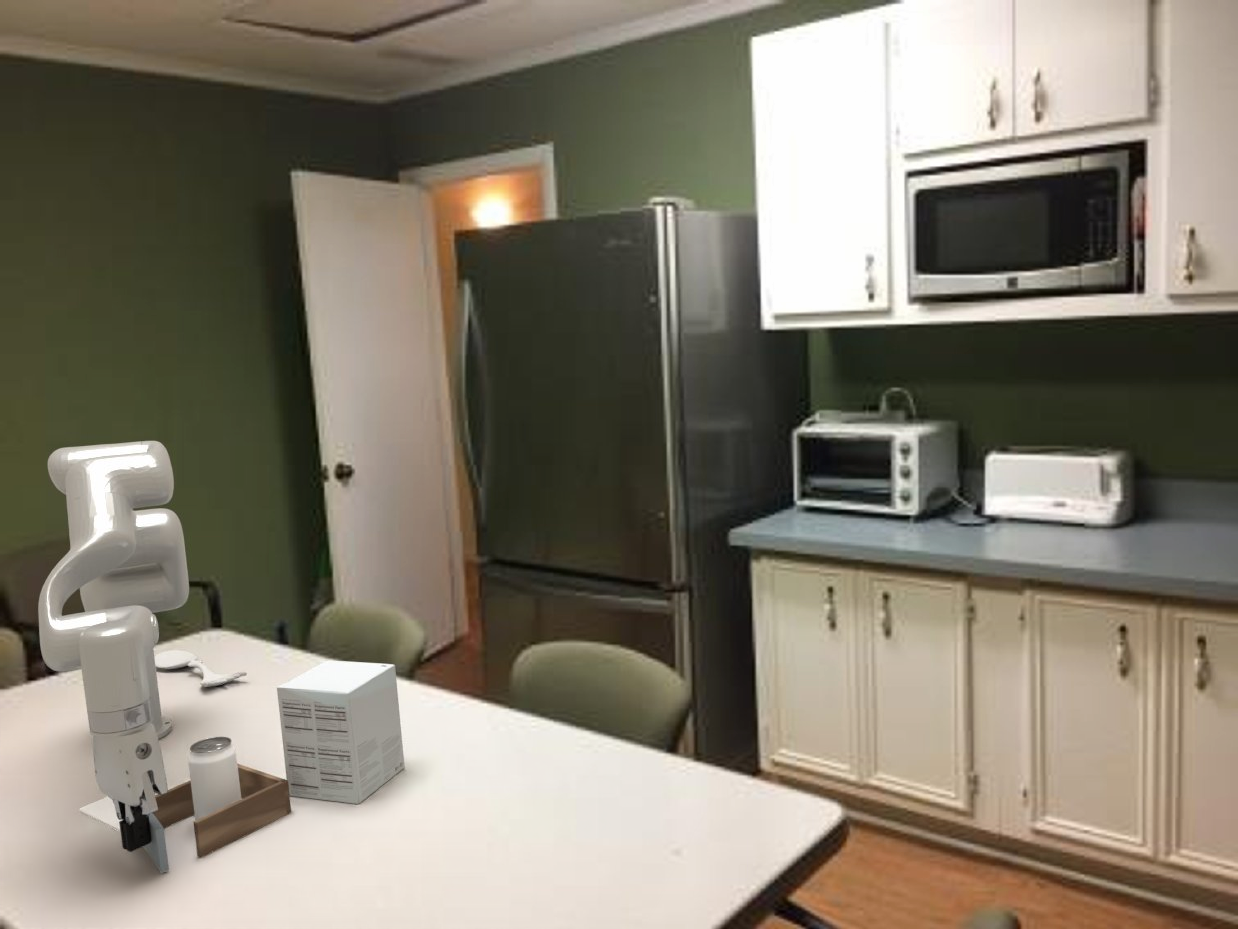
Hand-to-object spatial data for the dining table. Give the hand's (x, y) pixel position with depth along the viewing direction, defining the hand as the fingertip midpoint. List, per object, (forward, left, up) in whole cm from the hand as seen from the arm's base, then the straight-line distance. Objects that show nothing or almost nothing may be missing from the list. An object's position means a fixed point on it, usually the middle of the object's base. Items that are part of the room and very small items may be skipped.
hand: (137, 845), depth 137 cm
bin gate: (-2, +3, -3) cm, 5 cm away
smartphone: (-18, +8, -4) cm, 20 cm away
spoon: (-68, +51, -4) cm, 86 cm away
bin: (-2, +13, -3) cm, 13 cm away
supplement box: (+4, +32, -4) cm, 32 cm away
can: (-2, +13, -4) cm, 14 cm away
